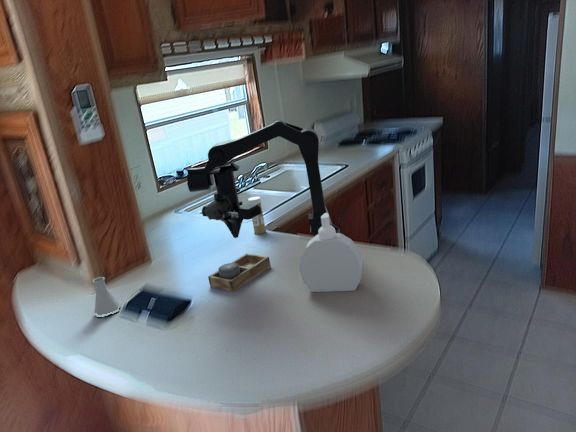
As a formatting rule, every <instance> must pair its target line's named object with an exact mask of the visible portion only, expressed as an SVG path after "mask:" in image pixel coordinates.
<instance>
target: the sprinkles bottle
mask: <svg viewBox="0 0 576 432" xmlns="http://www.w3.org/2000/svg"><path fill="white" fill-rule="evenodd" d="M247 200H248V202H247V203H248V204H258V205H259V206H260V207H261V212H262V213H261V214H259V215H257V216H255V217H254V218H252V219H251V221H252V225H253V233H254V234H255V235H262V234H265V233H266V231H267V229H266V225H265V218H264V213H263V208H262V198H261V197H260V196H253V197H252V196H251V197H249V198H248V199H247Z"/></svg>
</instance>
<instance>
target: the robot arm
mask: <svg viewBox="0 0 576 432" xmlns="http://www.w3.org/2000/svg"><path fill="white" fill-rule="evenodd" d="M278 137H279V138H282V139H285V140H286V141H288V142H290V143H292V144H295V145H296V146H297V145H298V148H299V151H300V154H301V156H302V160H303V162H304V163H305V169H306V175H307V180H308V187H309V192H310V198H311V204H312V205H311V206H312V212H311V213H309V212H308V223H309V225H310V231H309V232H310V234H312V235H313V238H314V237H315V236H316V235H318V230H319V229H320V228H321V227H322V222H321V216H322V215H323V214H324V213H328V215H329V211H328V209H327V207H326V202H325V198H324V197H325V196H324V190H323V185H322V179H321V178H322V177H321V172H320V166H319V165H320V164H319V143H320V142H319V134H318V132H317V131H316V130H315V129H313V128H311V127H305V128H303V127H300V126H298V125H294V124H291V123H288V122H286V121H284V120H282V119H278V120H275V121H274V122H273V123H271V124H269V125H266V126H264V127H262V128H260V129H257V130H255V131H252V132H251V133H248V134H246V135H244V136H242V137H239V138H236V139H231V140H230V139H229V140H226V141H222V142H217V143H216V144H214V145H213V146H212V147H210V149H209V150H208V153H207V159H208V160H207V162H206V164H205V166H202V167H190V168H188V169H187V170H186V172H187V175H186V176H187V177H186V178H187V179H186V180H187V181H186V182H187V183H186V185H187V189H188V190H189V192H190V193H195V192H203V191H204V192H205V191H210V190H211V189H212V187H213V186H214V185H215V189H216V192H214V194H213V200H212V201H211V202H210V203H208V204H206V205H204V206H203V207H202V208H201V213H202V214H201V215H202V217H207V218H208V220H209V221H211V220H215V221H220V222H222V223H224V224H225V226H227V227H226V228H228V231H229V232H230V233H231V235H232V237H233V238H234V239H237V238H239V234H240V231H241V227H242V223H243V222H244V220H252V218H254V217H255V216H257V215H259V214H261V213H262V212H263V211H262V212H261V207H262V206H261V207H260V206H259V205H258V204H249V203H247V204H246V205H244V206H243V201H240V200H239V195H238V193H239V192H241V190H240V187H237V183H236V180H235V174H234V173H235V172H238V171H239V169H240V168H241V167H240V166H239V165H238V164H236V163H235V162H234V161H232V160H233V159H235V158H236V157H238V156H239V155H240V154H242V153H243V152H246V151H248V150H250V149H251V150H252V149H253V148H255V147H257V146H259V145H262V144H265V143H267V142H269V141H271V140H273V139H275V138H278ZM230 161H231V162H230ZM229 162H230V164H229V165H228V164H227V163H229ZM226 164H227V165H226ZM217 167H219V169H216V168H217ZM329 221H330V225H331V226H333V227H334V228H335V231H336V233H341V232H340V231H341V230H340V228H339V227H337V226H336V225H335V224H333V223H332V219H331V216H330V215H329Z"/></svg>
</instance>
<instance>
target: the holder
mask: <svg viewBox="0 0 576 432" xmlns="http://www.w3.org/2000/svg"><path fill="white" fill-rule="evenodd" d="M231 263H237V264H239V268H240V274H239V275H237V276H236V277H234V278H233V279H231V280H230V279H225V278H220V275H219V270H216V271H215V272H213V273H211V274H210V275H209V276H207V278H208V283H209V287H210V288H213V289H217V290H222V291H227V292H231V293H235V292H236V291H237V290H239V289H240V288H242V287H243V286H244V285H246V284H247V283H249V282H250V281H252V280H253V279H255V278H256V277H258V276H259V275H260V274H262V273H263V272H265V271H267V270H268V269H269V268H271V262H270V257H269V256H267V255H266V256H265V255H259V254H252V253H245V254H244V255H242V256H240V257H238V258H237V259H235V260H234V261H232V262H231Z"/></svg>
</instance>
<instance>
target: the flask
mask: <svg viewBox="0 0 576 432" xmlns="http://www.w3.org/2000/svg"><path fill="white" fill-rule="evenodd" d="M105 280H106V278H105V277H104V276H99V277H96V278H93V280H91V281H92V283H93V285H94V287H95V302H94V303H95V306H94V312H95V313H97V314H98V315H102V314H107V313H110V312H113V311H115V310H117V309H118V307H119V304H120V303H119V302H118V301H117V299H116V297H114V295H113V294H112V293H111V292H110V290H109V288H108V287H107V285H106V282H105Z"/></svg>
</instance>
